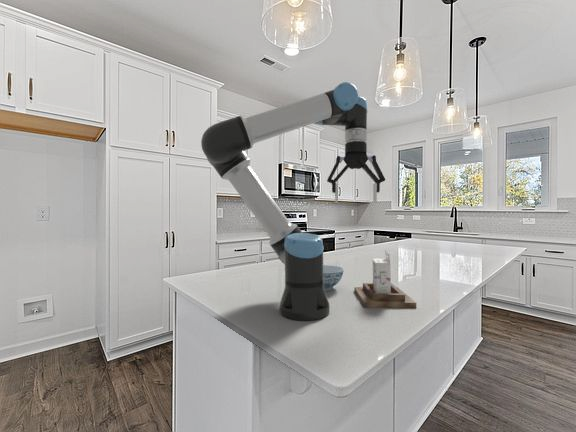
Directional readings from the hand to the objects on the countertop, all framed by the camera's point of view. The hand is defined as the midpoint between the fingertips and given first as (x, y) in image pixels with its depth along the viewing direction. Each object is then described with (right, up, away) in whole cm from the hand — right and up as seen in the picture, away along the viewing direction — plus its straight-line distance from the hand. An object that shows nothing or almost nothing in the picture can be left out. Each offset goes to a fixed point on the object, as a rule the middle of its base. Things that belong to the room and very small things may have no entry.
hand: (355, 202), depth 104 cm
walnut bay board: (+8, -34, -4) cm, 35 cm away
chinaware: (-10, -34, +10) cm, 36 cm away
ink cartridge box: (+8, -32, -4) cm, 34 cm away
